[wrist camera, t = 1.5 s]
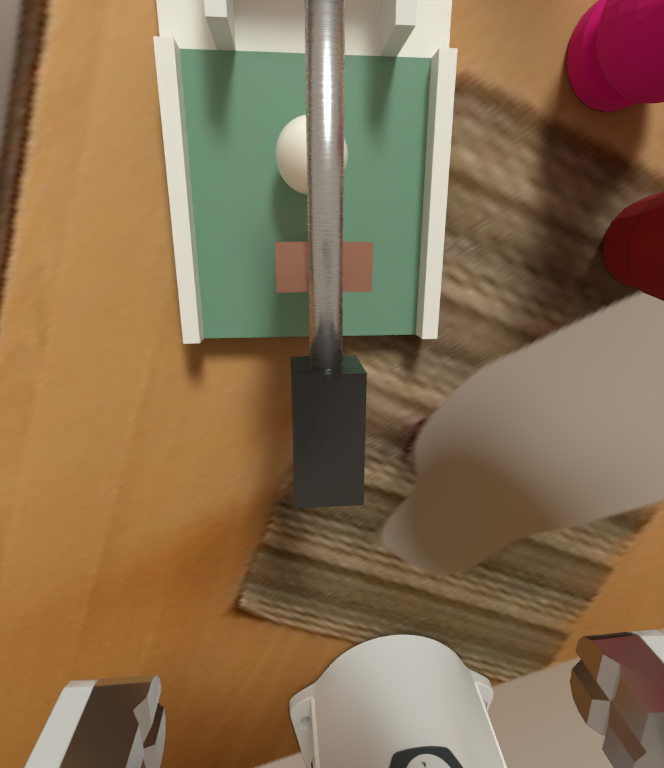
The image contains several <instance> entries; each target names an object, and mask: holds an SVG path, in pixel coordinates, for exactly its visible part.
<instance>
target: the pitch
mask: <svg viewBox="0 0 664 768" xmlns="http://www.w3.org/2000/svg"><path fill="white" fill-rule="evenodd" d="M156 2H157V13H158V23H159V34H160V36H153V39H154V49H155V59H156V70H157V80H158V90H159V100H160V110H161V121H162V131H163V141H164V151H165V162H166V172H167V182H168V192H169V202H170V213H171V223H172V233H173V243H174V254H175V264H176V274H177V284H178V294H179V305H180V315H181V325H182V335H183V344H192V343H201V341H202V340H203V339H204V338H252V337H305V336H309V292H284V293H277V287H276V258H275V242H278V241H308V213H307V195H306V194H302V193H299V192H297V191H295V190H294V189H292V188H291V187H290V186H289V185H288V184H287V183H286V182H285V181H284V180H283V178H282V176H281V175H280V173H279V170H278V168H277V164H276V157H275V150H276V144H277V140H278V137H279V135H280V133H281V131H282V130H283V128H284V127H285V126H286V125H287V124H288V123H289V122H290V121H292V120H293V119H295V118H297V117H299V116H302V115H306V75H305V5H304V0H156ZM451 8H452V0H345V92H344V138H345V140H346V144H347V149H348V162H347V167H346V170H345V173H344V224H343V241H350V242H373V274H372V292H343V336H359V335H412V334H416V335H417V336H419V337H420V338H421V339H437V335H438V320H439V306H440V292H441V277H442V263H443V249H444V234H445V220H446V206H447V192H448V177H449V163H450V149H451V134H452V120H453V106H454V91H455V77H456V63H457V49H458V48H449V39H450V24H451Z"/></svg>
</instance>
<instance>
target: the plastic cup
mask: <svg viewBox="0 0 664 768" xmlns="http://www.w3.org/2000/svg"><path fill="white" fill-rule="evenodd" d="M603 256H604V260H605V264H606V268H607V269H608V270H609V272H610V273H611V274H612V275H613V276H614V278H615V279H617V280H619V281H620V282H621V283H623V284H626V285H628V286H631V287H633V288H636V289H638V290H641V291H643V293H646V294H648V295H651V296H653V297H656V298H658V299H661V300H663V301H664V191H663V192H660V193H657V194H654V195H651V196H648V197H646V198H644V199H642V200H640V201H638V202H636V203H634V204H632V205H630V206H629V207H627V208H625V209H624V210H623V211H622V212H621V213H620V214H619V215H618V216H617V217H616V218H615V219H614V220H613V221H612V223H611V225H610V227H609V229H608V231H607V233H606V235H605V239H604V247H603Z"/></svg>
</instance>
